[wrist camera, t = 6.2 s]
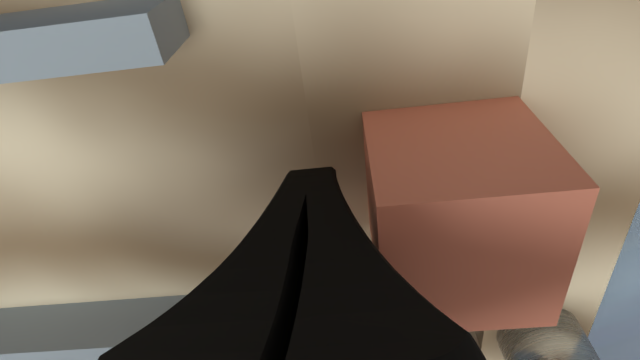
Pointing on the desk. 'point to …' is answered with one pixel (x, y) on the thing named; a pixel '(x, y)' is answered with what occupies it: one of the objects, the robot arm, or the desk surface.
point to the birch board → (293, 132)
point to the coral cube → (477, 209)
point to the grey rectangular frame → (68, 60)
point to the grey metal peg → (547, 342)
